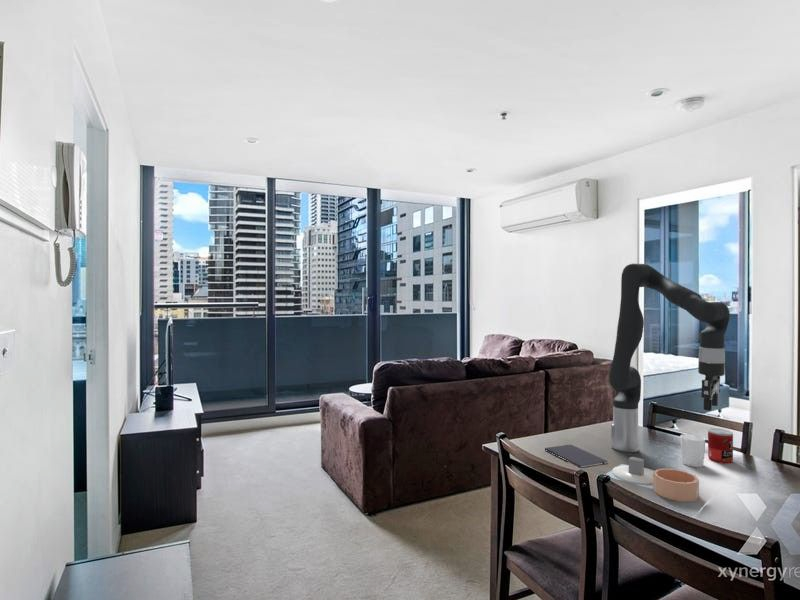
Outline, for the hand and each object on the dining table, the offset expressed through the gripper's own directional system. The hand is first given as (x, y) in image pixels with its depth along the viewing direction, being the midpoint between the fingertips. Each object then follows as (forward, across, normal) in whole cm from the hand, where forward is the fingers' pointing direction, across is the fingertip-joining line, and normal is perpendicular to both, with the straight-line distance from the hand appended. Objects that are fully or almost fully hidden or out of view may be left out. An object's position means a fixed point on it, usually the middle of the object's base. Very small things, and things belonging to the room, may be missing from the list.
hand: (710, 407), depth 161 cm
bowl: (+24, +23, -4) cm, 33 cm away
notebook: (+26, +12, -42) cm, 51 cm away
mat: (+24, +16, -18) cm, 34 cm away
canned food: (+24, -22, -1) cm, 33 cm away
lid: (+24, +16, -18) cm, 34 cm away
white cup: (+24, -10, -8) cm, 28 cm away
